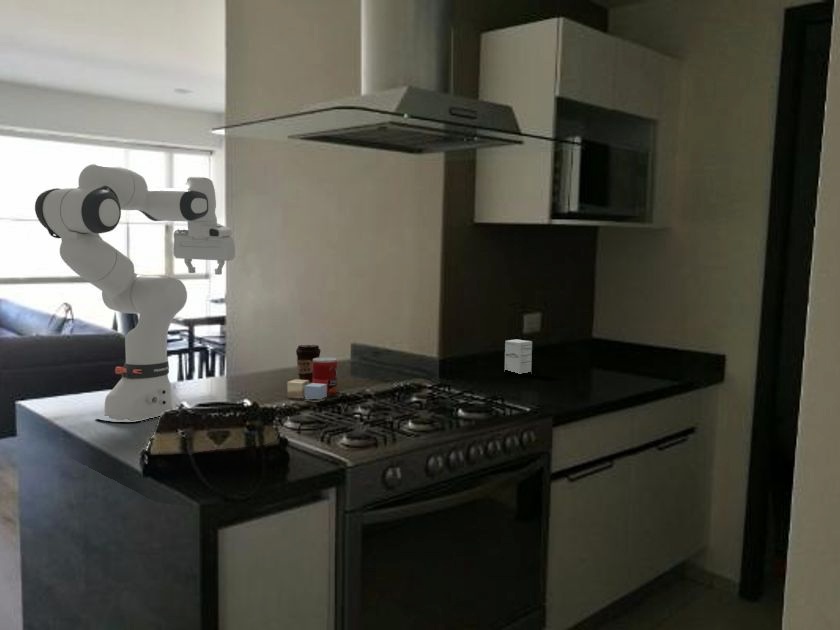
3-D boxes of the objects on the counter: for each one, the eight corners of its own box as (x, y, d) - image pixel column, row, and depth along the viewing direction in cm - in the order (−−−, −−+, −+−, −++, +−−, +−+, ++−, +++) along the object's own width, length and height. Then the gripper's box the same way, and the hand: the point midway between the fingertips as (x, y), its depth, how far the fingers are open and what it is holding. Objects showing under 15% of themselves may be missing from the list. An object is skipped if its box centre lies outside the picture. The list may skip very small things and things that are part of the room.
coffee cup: (313, 385, 256) (312, 347, 255) (291, 383, 259) (291, 346, 258) (324, 381, 264) (324, 344, 263) (303, 379, 267) (303, 343, 266)
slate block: (319, 403, 228) (319, 386, 228) (304, 402, 230) (304, 385, 229) (326, 399, 233) (326, 384, 232) (312, 398, 234) (311, 383, 234)
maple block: (301, 398, 234) (301, 383, 234) (287, 397, 236) (287, 382, 235) (309, 395, 239) (308, 380, 239) (295, 394, 241) (294, 379, 240)
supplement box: (503, 374, 280) (504, 340, 279) (516, 371, 285) (517, 338, 284) (519, 376, 275) (519, 342, 274) (532, 374, 280) (532, 340, 279)
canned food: (333, 395, 240) (332, 361, 239) (309, 394, 242) (309, 360, 241) (340, 390, 247) (340, 357, 246) (317, 389, 249) (317, 356, 248)
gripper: (167, 229, 234) (170, 273, 237) (226, 231, 228) (228, 276, 231) (179, 227, 240) (182, 270, 243) (236, 229, 234) (238, 273, 237)
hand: (205, 273), depth 237 cm, fingers open, 8 cm apart
